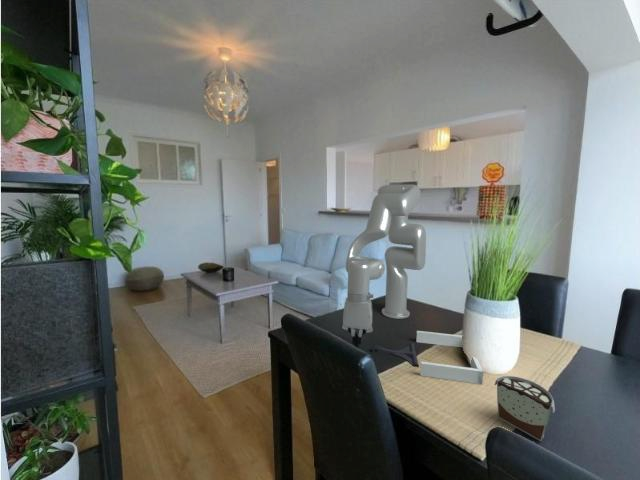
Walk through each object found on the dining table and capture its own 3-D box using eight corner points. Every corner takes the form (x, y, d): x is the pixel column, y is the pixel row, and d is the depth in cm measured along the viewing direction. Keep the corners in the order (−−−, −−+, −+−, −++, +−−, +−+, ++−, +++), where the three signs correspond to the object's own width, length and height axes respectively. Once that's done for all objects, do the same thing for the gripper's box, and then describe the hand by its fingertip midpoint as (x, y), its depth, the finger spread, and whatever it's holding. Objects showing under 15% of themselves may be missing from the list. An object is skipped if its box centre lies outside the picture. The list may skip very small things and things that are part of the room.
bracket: (372, 343, 115) (373, 336, 114) (413, 347, 112) (414, 339, 112) (371, 364, 101) (372, 356, 100) (418, 369, 98) (419, 361, 98)
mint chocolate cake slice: (559, 433, 71) (564, 394, 69) (549, 446, 67) (554, 404, 66) (503, 404, 81) (506, 369, 79) (491, 413, 77) (494, 377, 76)
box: (416, 340, 116) (416, 330, 115) (465, 346, 111) (466, 336, 111) (420, 375, 93) (421, 363, 93) (482, 384, 89) (483, 371, 88)
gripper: (380, 295, 108) (378, 343, 111) (339, 291, 112) (338, 338, 115) (379, 301, 101) (377, 353, 104) (335, 297, 105) (334, 348, 107)
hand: (356, 345), depth 109 cm, fingers closed
